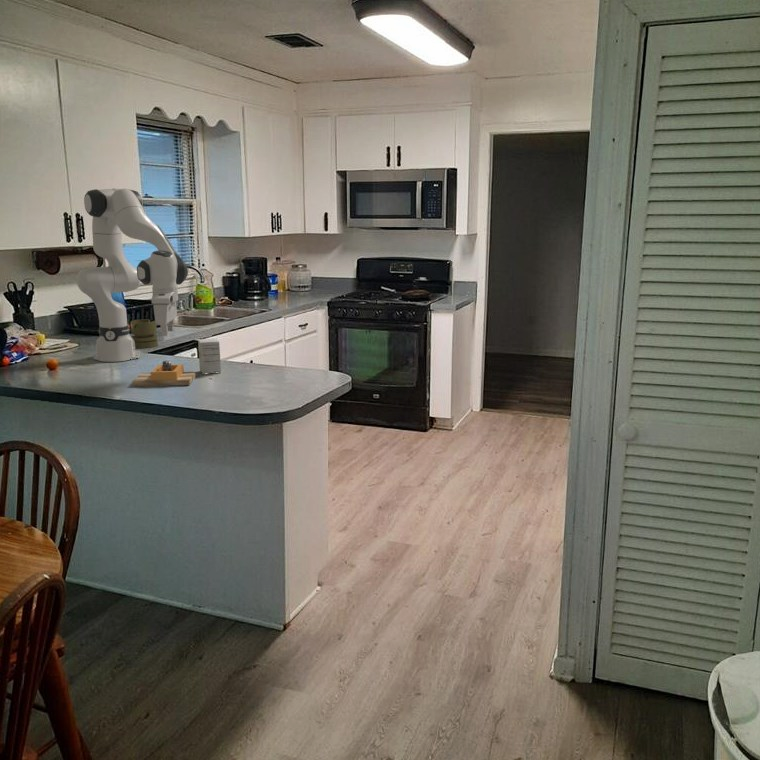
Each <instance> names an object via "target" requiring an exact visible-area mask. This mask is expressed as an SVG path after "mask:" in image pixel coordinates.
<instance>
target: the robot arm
mask: <svg viewBox="0 0 760 760" xmlns="http://www.w3.org/2000/svg"><path fill="white" fill-rule="evenodd" d="M83 201H84V202H83V204H84V209H85V211H86V213H87V214H88V215H89V216H91V217H92V219H91V220H92V221H91V229H92V230H91V231H92V247H93V252H94V253H95V254H96V255H97V256H98V257H100V258H102V259H105V260H107V261H106V262H107V264H108V266H98V267H97V266H94V267H89V268H84V269H81V270H80V271H79V272H78V274H77V276H76V284H77V287H78V289H79V290H80V292H82V293H83V294H85V295H86V296H88V297H89V298H90V299H91V301H92V302H93V303H94V305H95V308H96V311H97V314H98V322H99V323H98V324H99V326H98V334H99V335H98V336H99V337H98V338H97V339H96V342H95V343H96V356H93V360H94V361H95V360H97V361H99V362H104V363H105V362H108V363H109V362H110V363H111V362H112V363H114V362H124V361H130V359H131V360H137V359H136V358H138V359H140V358H141V354H142V352H141V349H136V348H135V342H134V340H133V338H132V336H131V334H130V333H131V330H130V329H131V325H130V324H129V323H128V317H127V308H126V307H125V305H124V304H123V303H122V302H118V301H116V300H114V299H113V298H112V294H114V293H115V294H117V293H128V292H132V291H135V290H137V289H138V288H139V287H140V285H141V283H142V284H143V285H146V286H152V296H151V304H152V305H153V315H154V321H156V326H160V330H161V335H162V337H167V336H168V335H169V332H173V331H174V324H175V323H174V322H175V319H176V318H177V317H178V308H177V301H179V289H178V285H182V284H183V283H184V281H186V279H187V277H188V274H189V270H188V266H187V264H186V262H185V261H184V260H183V259H182V258H181V256H180V255H179V254H178V252H177V251H176V249H175V248H174V246H173V244H172V243H171V241H170V240H169V238H168V237H167V235H166V233H165V232H164V231H163V229H162V228H161V227H160V225H158V224H156V223H155V222H154V221H152V220H151V218H149V216H147V213H146V212H145V210H144V208H143V199H142V196H141V194H140V193H139V192H138V191H136V190H134V189H130V188H104V189H90V190H88V191H87V192H86V193H85V195H84V199H83ZM122 234H123V235H125V236H126V237H128V238H129V239H135V240H137V241H143V242H146V243H149V244H150V245H153V246H154V247H155V248H156V250H154V251H152V252H151V253H150V257H148V258H146V259H143V260H141V261H139V263H138V264H137V266H136V267H135V266H133V265H132V264H131V263H130V262H129V261H128V260H127V257H126V255H125V253H124V250H123V248H124V247H123V238H122ZM139 357H140V358H139Z"/></svg>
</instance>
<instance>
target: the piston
mask: <svg viewBox="0 0 760 760" xmlns="http://www.w3.org/2000/svg"><path fill="white" fill-rule="evenodd" d="M157 326H158V325H157V324H156V321H155V320H153V321H151V320H150V319H147V318H146V319H145V318H143V319H133V320H131V321H130V333H131V334H130V335H132V336H131V337H132V338H133V340H134V342H135V348H139V349H138V350H146V349H154V348H158V347H159V341H158V335H157V333H158V330H157V328H158V327H157Z"/></svg>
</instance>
